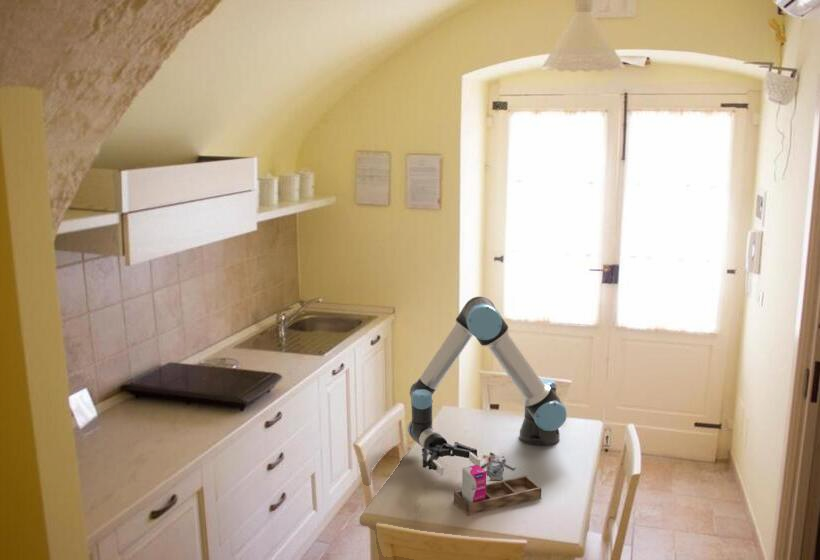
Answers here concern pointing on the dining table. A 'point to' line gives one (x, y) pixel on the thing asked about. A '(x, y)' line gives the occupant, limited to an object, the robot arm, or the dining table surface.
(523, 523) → the dining table surface
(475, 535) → the dining table surface
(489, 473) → the grey irregular piece
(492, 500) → the brown wooden compartment tray
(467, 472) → the supplement box
